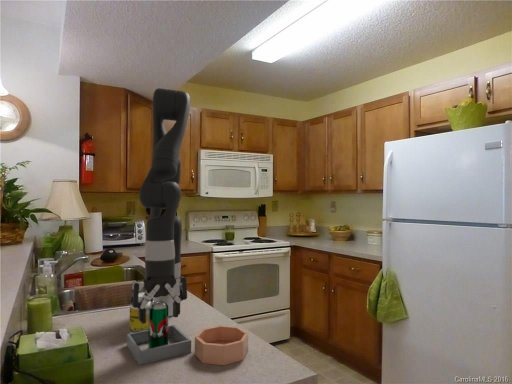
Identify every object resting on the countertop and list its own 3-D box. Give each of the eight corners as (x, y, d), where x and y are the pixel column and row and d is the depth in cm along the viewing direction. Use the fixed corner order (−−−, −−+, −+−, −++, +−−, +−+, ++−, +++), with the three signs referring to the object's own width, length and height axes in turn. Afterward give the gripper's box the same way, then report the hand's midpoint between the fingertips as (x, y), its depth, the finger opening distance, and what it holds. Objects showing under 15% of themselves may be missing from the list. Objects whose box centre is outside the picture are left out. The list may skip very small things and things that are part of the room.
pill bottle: (125, 332, 102) (125, 294, 102) (144, 326, 106) (145, 290, 107) (136, 338, 98) (136, 298, 98) (155, 332, 102) (155, 294, 102)
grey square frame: (126, 345, 93) (126, 334, 93) (173, 335, 100) (174, 324, 100) (139, 365, 82) (139, 352, 82) (191, 352, 89) (191, 340, 89)
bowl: (189, 349, 90) (189, 331, 91) (231, 339, 97) (231, 322, 97) (209, 369, 80) (209, 349, 80) (255, 356, 87) (256, 338, 87)
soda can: (170, 344, 93) (170, 299, 94) (165, 352, 88) (166, 305, 89) (151, 344, 93) (151, 299, 94) (145, 353, 88) (146, 305, 88)
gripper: (180, 253, 98) (180, 311, 98) (128, 257, 91) (127, 320, 90) (191, 256, 92) (190, 318, 91) (136, 261, 84) (135, 329, 84)
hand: (159, 319), depth 91 cm, fingers open, 8 cm apart
